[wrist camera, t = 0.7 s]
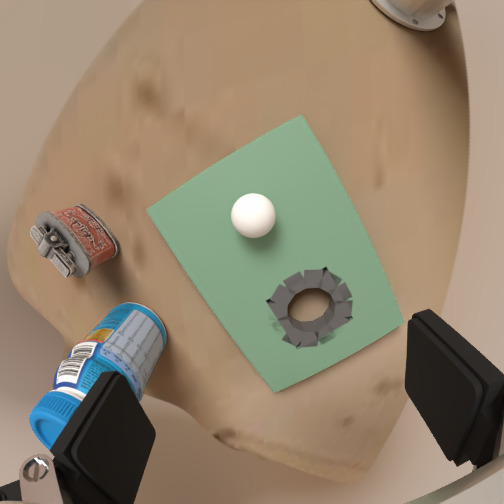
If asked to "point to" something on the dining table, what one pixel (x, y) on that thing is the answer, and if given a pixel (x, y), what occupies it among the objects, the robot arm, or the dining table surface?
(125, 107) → the dining table surface
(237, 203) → the ball
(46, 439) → the beverage bottle
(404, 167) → the dining table surface
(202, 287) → the green board
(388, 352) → the dining table surface
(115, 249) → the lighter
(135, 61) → the dining table surface
